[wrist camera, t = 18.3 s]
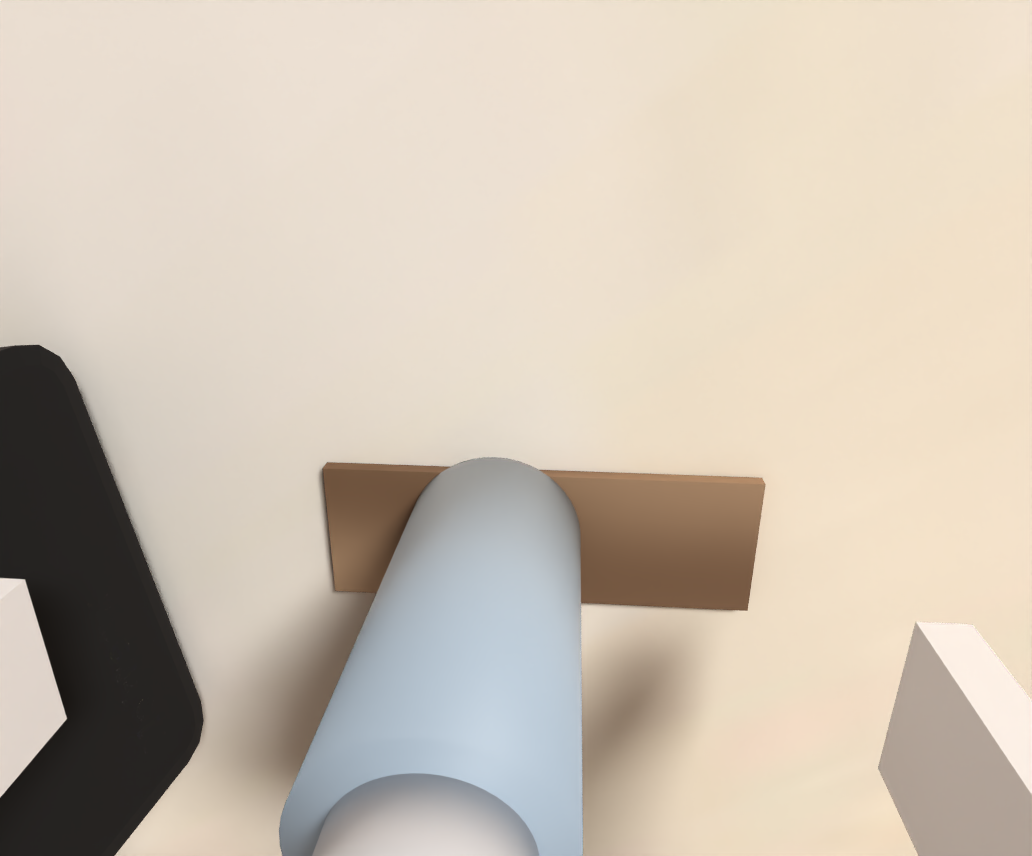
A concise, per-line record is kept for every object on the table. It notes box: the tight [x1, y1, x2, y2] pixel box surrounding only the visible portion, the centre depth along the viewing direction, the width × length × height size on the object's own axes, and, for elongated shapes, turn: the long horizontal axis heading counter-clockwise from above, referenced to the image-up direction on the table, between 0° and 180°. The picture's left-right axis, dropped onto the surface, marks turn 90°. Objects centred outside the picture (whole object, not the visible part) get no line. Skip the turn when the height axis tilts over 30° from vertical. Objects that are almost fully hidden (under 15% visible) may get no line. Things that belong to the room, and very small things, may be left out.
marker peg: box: [279, 458, 583, 856], centre depth 11 cm, size 4×4×9 cm
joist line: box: [323, 462, 765, 611], centre depth 16 cm, size 3×20×1 cm, turn 90°
